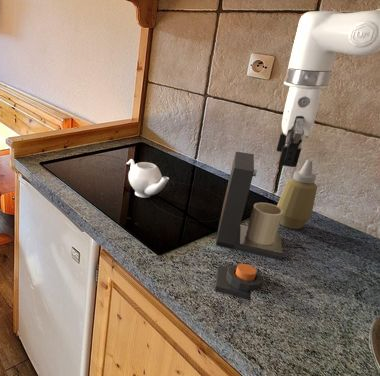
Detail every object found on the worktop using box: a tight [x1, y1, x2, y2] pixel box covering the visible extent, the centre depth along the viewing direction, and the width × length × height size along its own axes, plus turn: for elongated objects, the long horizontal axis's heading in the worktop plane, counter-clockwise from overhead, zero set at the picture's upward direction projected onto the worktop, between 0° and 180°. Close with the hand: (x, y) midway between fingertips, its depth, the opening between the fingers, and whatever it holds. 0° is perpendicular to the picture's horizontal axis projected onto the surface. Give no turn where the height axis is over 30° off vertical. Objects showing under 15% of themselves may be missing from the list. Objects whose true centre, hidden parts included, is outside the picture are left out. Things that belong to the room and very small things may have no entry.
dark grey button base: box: [214, 264, 271, 301], centre depth 82 cm, size 10×8×3 cm
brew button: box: [235, 263, 258, 281], centre depth 81 cm, size 4×4×2 cm
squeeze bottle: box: [276, 159, 318, 230], centre depth 103 cm, size 8×8×18 cm
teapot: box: [125, 158, 170, 199], centre depth 119 cm, size 10×20×9 cm, turn 21°
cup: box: [246, 202, 283, 245], centre depth 96 cm, size 6×6×8 cm
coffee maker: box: [215, 151, 284, 261], centre depth 95 cm, size 14×12×20 cm
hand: (285, 158), depth 88 cm, fingers open, 9 cm apart
